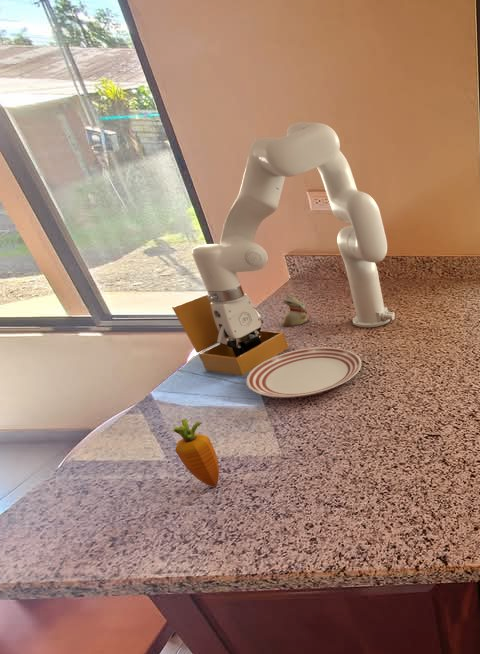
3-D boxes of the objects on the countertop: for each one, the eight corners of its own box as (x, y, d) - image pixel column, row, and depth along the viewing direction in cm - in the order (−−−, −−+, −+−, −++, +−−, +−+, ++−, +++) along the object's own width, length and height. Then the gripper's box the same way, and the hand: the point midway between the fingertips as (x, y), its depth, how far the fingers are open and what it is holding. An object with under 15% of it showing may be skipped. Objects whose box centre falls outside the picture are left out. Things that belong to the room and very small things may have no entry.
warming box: (289, 349, 128) (283, 332, 125) (243, 377, 114) (236, 359, 111) (255, 345, 130) (249, 328, 127) (206, 372, 116) (198, 353, 113)
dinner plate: (339, 346, 130) (336, 337, 129) (380, 380, 114) (378, 369, 112) (237, 377, 114) (233, 366, 112) (269, 421, 97) (264, 409, 96)
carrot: (208, 477, 82) (174, 414, 74) (235, 476, 82) (204, 413, 74) (193, 496, 78) (155, 432, 70) (221, 495, 78) (187, 430, 70)
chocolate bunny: (308, 324, 144) (300, 296, 139) (283, 327, 142) (273, 298, 137) (309, 318, 149) (301, 290, 143) (284, 321, 146) (275, 293, 141)
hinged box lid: (230, 285, 120) (215, 286, 122) (174, 307, 106) (157, 307, 107) (249, 327, 127) (234, 326, 128) (198, 352, 112) (182, 352, 114)
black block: (266, 355, 123) (258, 335, 120) (252, 363, 119) (244, 342, 116) (251, 353, 124) (243, 333, 121) (237, 361, 120) (229, 340, 116)
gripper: (210, 306, 103) (238, 370, 113) (263, 284, 118) (283, 343, 127) (185, 303, 105) (214, 367, 114) (240, 282, 119) (261, 340, 129)
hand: (250, 354), depth 121 cm, fingers closed on black block, 5 cm apart
